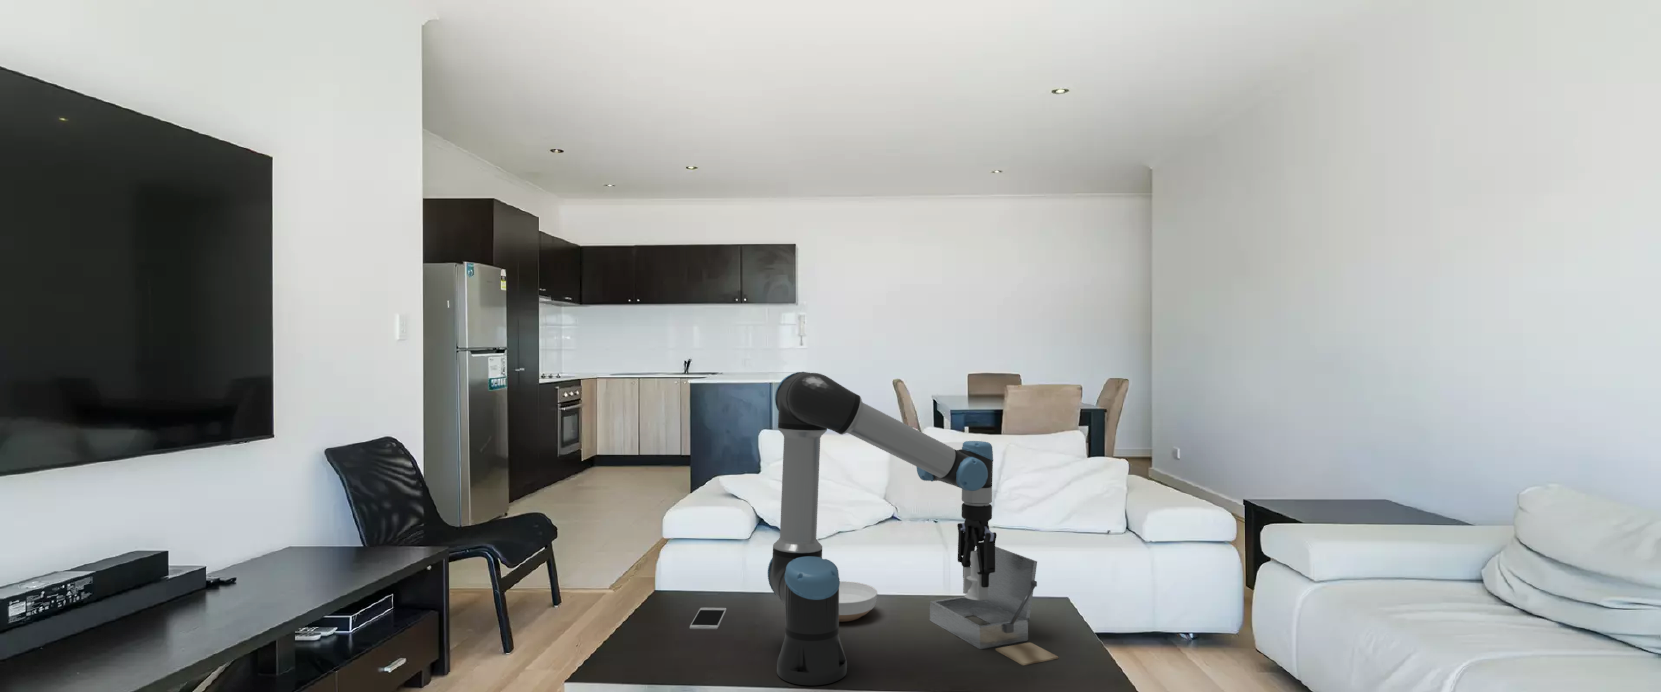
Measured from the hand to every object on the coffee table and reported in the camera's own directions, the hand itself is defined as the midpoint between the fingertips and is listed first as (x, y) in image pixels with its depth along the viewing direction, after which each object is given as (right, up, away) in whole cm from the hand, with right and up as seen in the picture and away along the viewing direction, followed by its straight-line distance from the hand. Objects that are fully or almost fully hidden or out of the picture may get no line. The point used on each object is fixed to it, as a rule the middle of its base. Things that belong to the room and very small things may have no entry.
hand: (975, 595), depth 194 cm
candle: (0, -1, 0) cm, 1 cm away
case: (+2, -9, 0) cm, 9 cm away
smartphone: (-68, -9, +8) cm, 69 cm away
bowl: (-34, -9, +12) cm, 37 cm away
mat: (+9, -8, -16) cm, 20 cm away
